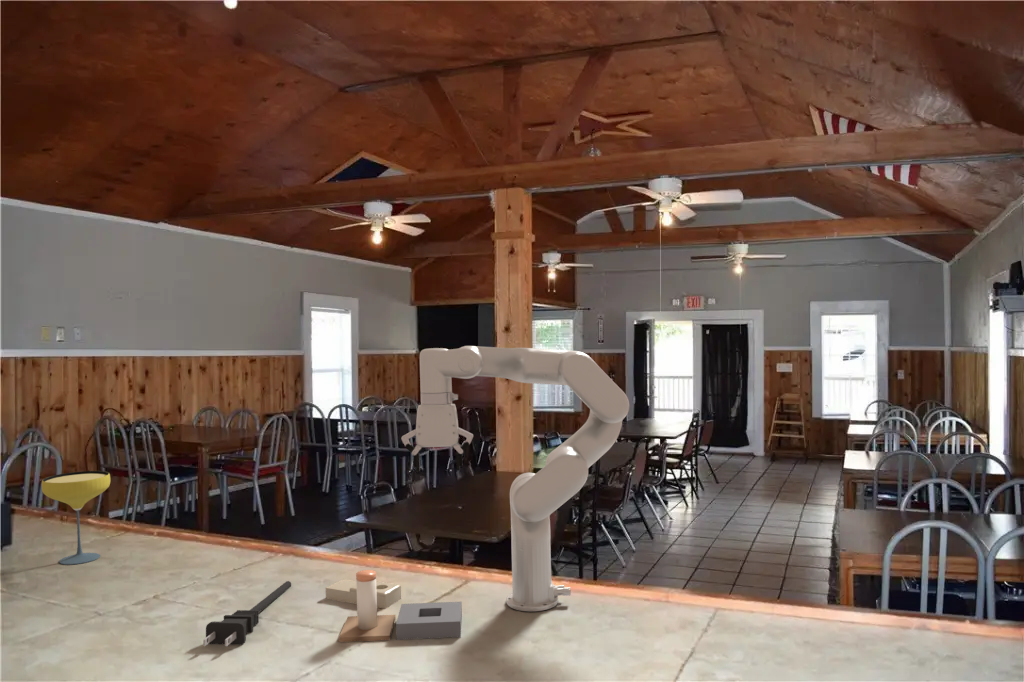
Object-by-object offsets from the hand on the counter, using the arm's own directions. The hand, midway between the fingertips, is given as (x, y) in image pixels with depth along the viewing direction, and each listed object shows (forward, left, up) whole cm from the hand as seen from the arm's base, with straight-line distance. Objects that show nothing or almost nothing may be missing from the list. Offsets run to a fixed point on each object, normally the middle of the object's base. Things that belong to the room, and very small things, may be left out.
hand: (438, 470), depth 190 cm
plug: (+16, +13, -32) cm, 38 cm away
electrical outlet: (+20, -7, -34) cm, 40 cm away
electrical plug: (+44, +2, -34) cm, 56 cm away
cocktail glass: (+111, -50, -34) cm, 126 cm away
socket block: (+2, +13, -33) cm, 36 cm away
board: (+16, +13, -33) cm, 39 cm away
